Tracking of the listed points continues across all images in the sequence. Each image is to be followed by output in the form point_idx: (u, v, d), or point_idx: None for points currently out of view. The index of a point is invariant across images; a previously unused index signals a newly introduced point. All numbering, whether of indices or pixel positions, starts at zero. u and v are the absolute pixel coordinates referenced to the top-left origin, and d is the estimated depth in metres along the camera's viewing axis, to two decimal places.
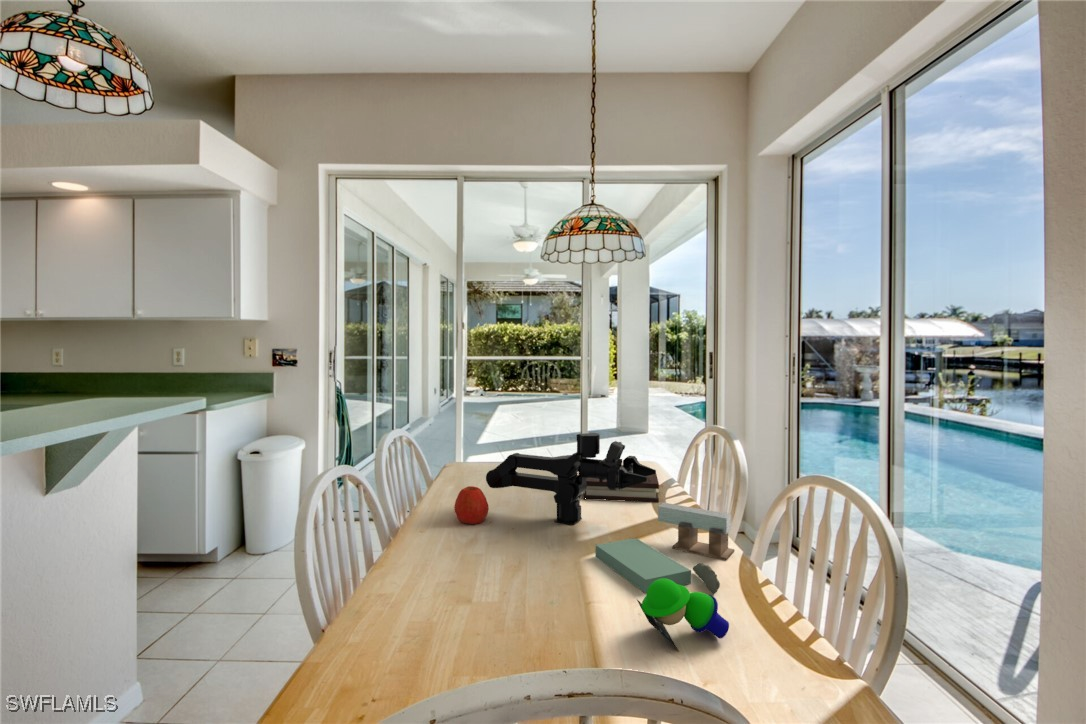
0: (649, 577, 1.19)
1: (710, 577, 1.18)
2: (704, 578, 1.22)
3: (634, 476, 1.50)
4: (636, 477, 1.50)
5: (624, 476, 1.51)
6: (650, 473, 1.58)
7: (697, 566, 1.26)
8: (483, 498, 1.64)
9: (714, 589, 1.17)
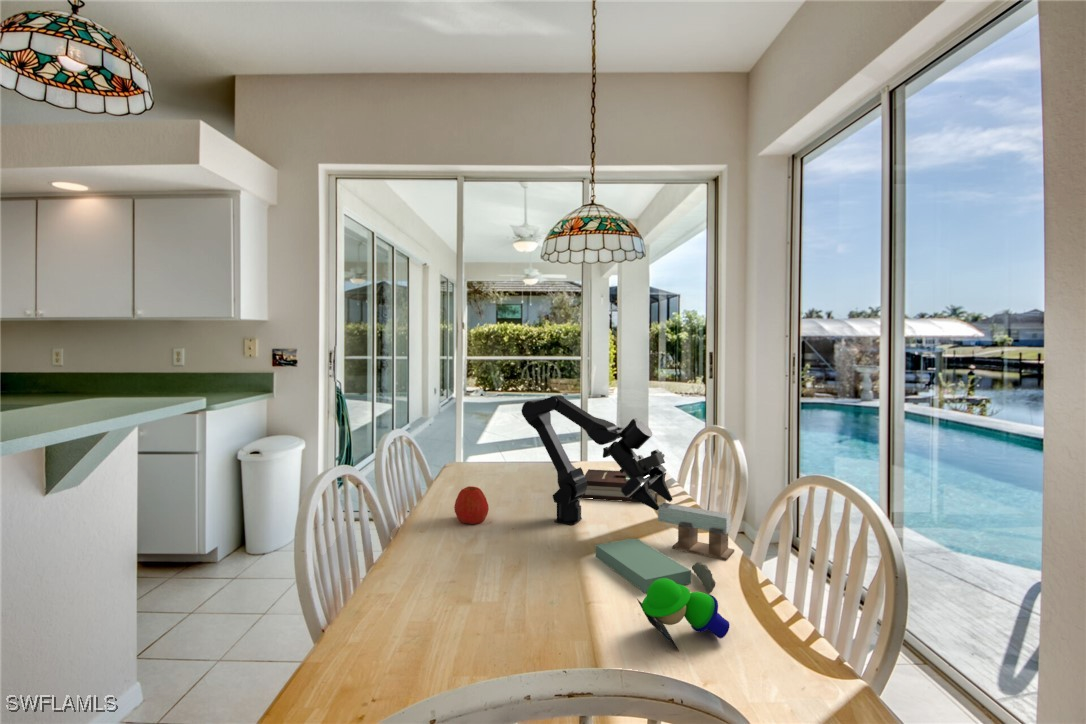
0: (649, 577, 1.19)
1: (706, 576, 1.19)
2: (701, 577, 1.23)
3: (650, 499, 1.44)
4: (651, 501, 1.44)
5: (642, 491, 1.45)
6: (666, 497, 1.52)
7: (695, 565, 1.27)
8: (483, 498, 1.64)
9: (709, 588, 1.17)
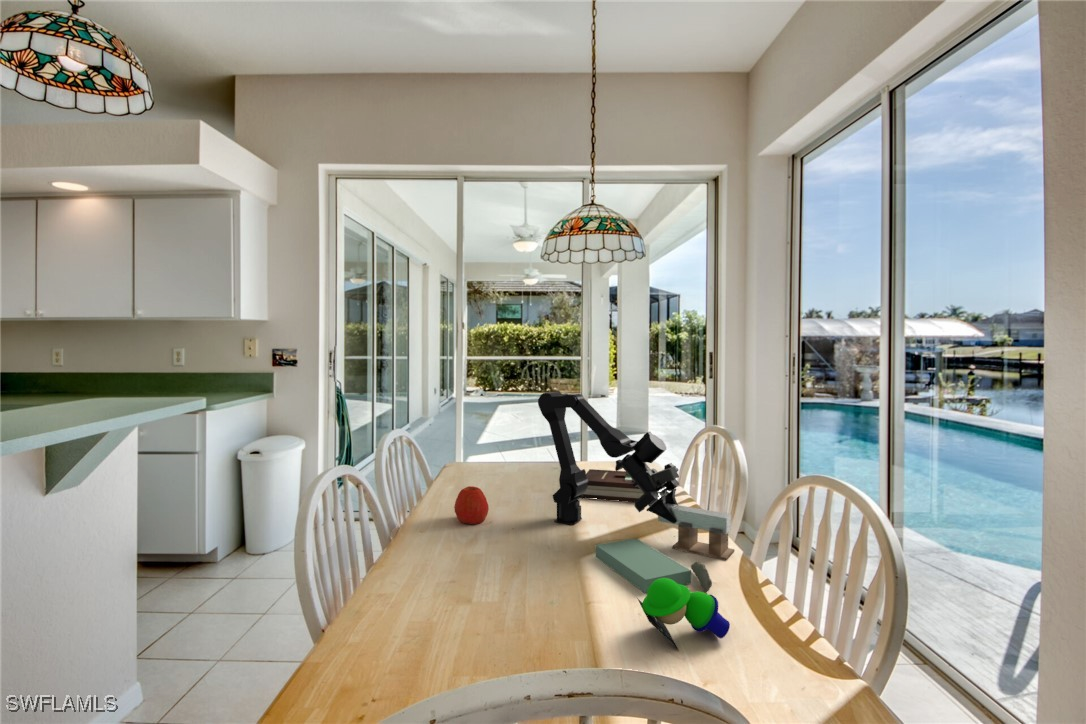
0: (649, 577, 1.19)
1: (703, 575, 1.19)
2: (699, 576, 1.23)
3: (668, 512, 1.44)
4: (668, 514, 1.44)
5: (659, 504, 1.45)
6: None
7: (694, 565, 1.27)
8: (483, 498, 1.64)
9: (706, 587, 1.17)
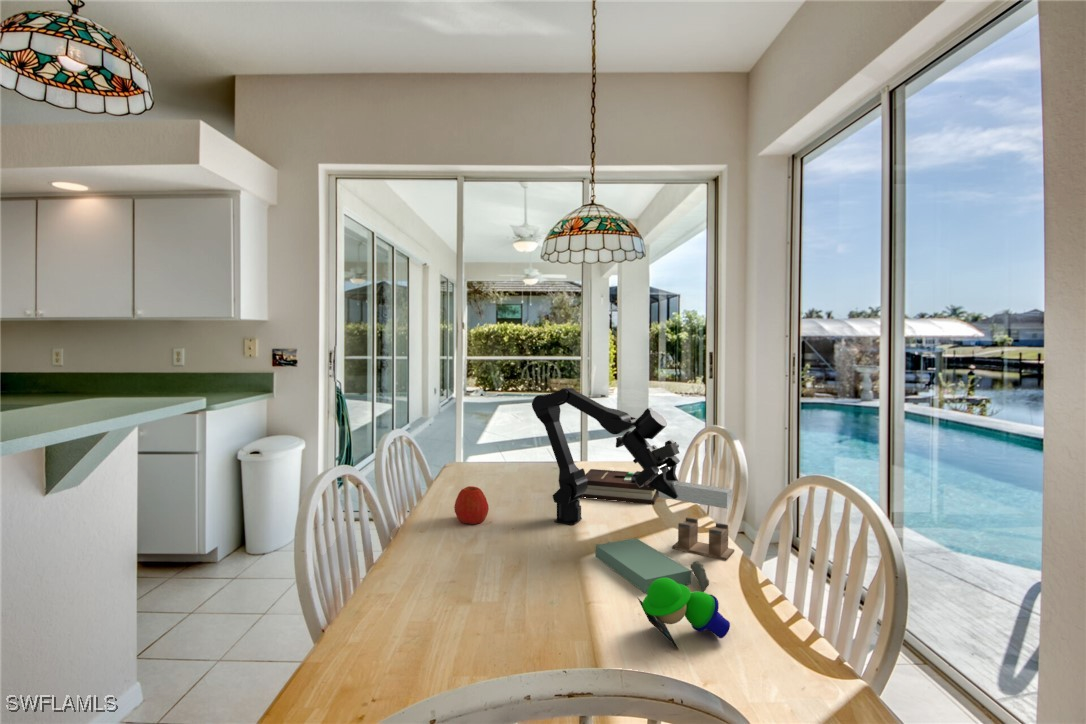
0: (649, 577, 1.19)
1: (700, 575, 1.19)
2: (697, 576, 1.23)
3: (668, 487, 1.44)
4: (669, 489, 1.44)
5: (660, 479, 1.45)
6: None
7: (693, 564, 1.27)
8: (483, 498, 1.64)
9: (703, 587, 1.18)
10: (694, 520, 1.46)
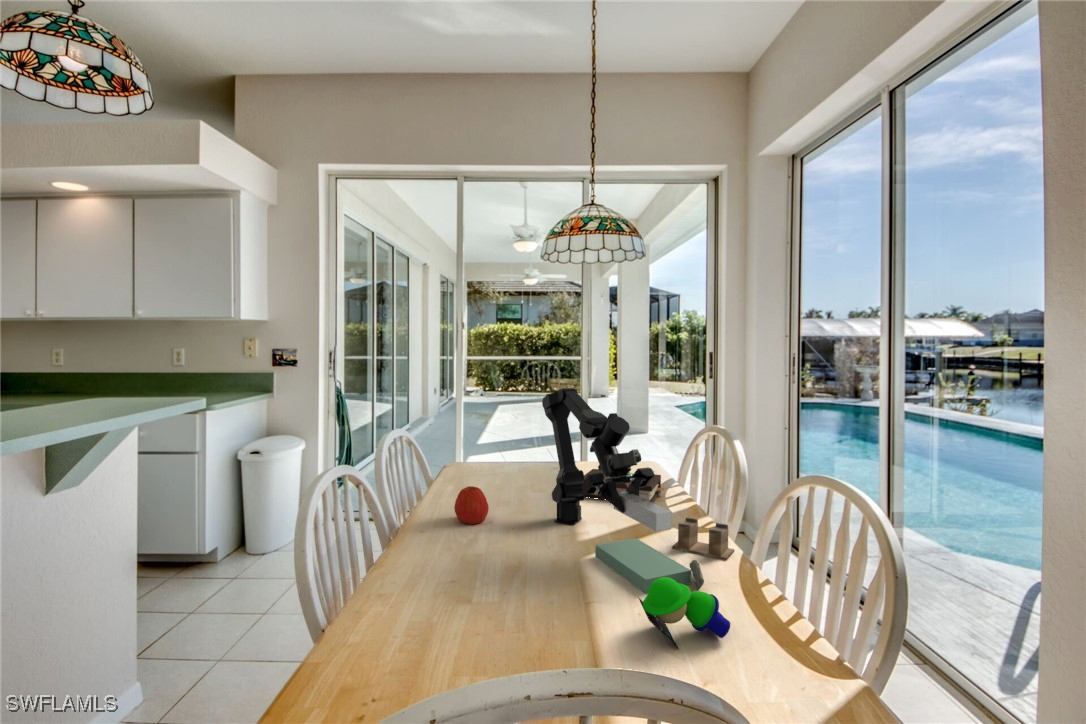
0: (649, 577, 1.19)
1: (696, 573, 1.20)
2: (694, 575, 1.24)
3: (616, 499, 1.34)
4: (617, 502, 1.34)
5: None
6: None
7: (692, 563, 1.28)
8: (483, 498, 1.64)
9: (697, 585, 1.18)
10: (694, 520, 1.46)
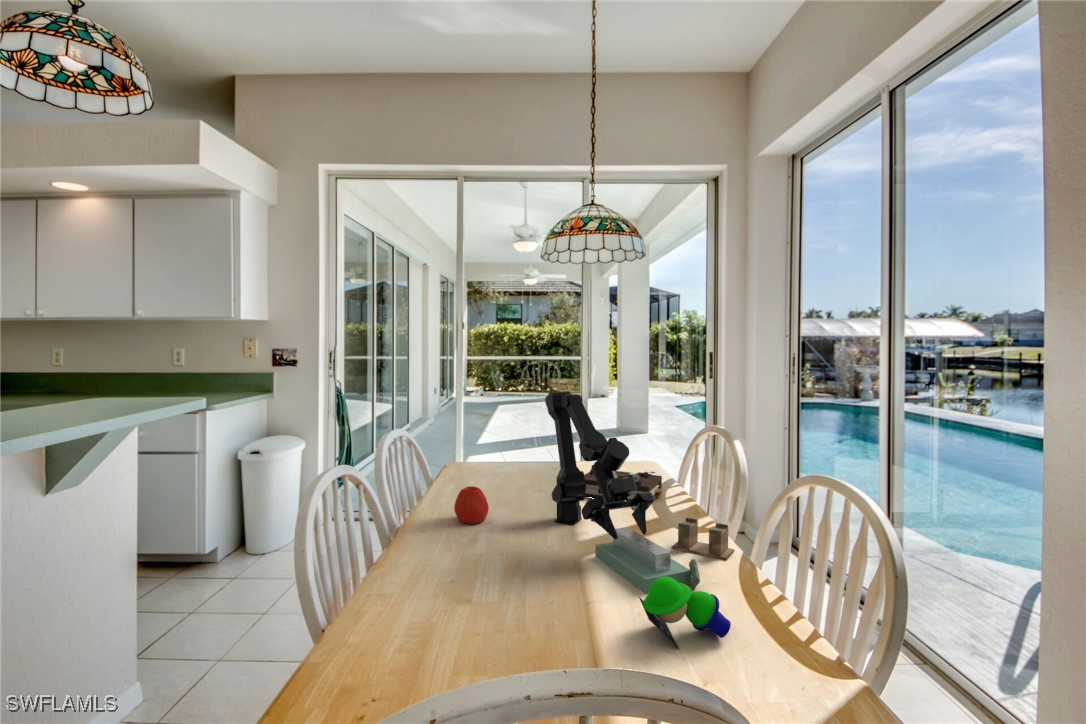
0: (649, 577, 1.19)
1: (692, 572, 1.21)
2: None
3: (609, 526, 1.33)
4: (610, 528, 1.33)
5: None
6: (641, 529, 1.37)
7: (691, 562, 1.29)
8: (483, 498, 1.64)
9: (693, 584, 1.19)
10: (694, 520, 1.46)
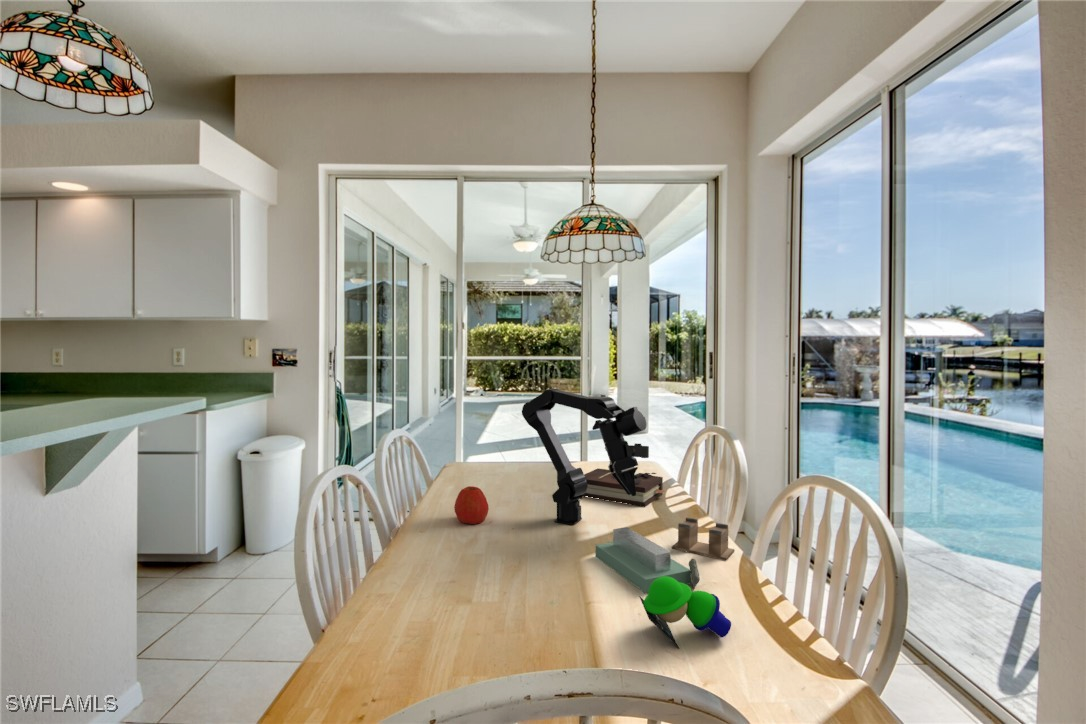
0: (649, 577, 1.19)
1: (692, 571, 1.21)
2: None
3: (633, 483, 1.47)
4: (632, 485, 1.47)
5: (628, 473, 1.47)
6: (626, 490, 1.56)
7: (690, 561, 1.29)
8: (483, 498, 1.64)
9: (693, 583, 1.19)
10: (694, 520, 1.46)
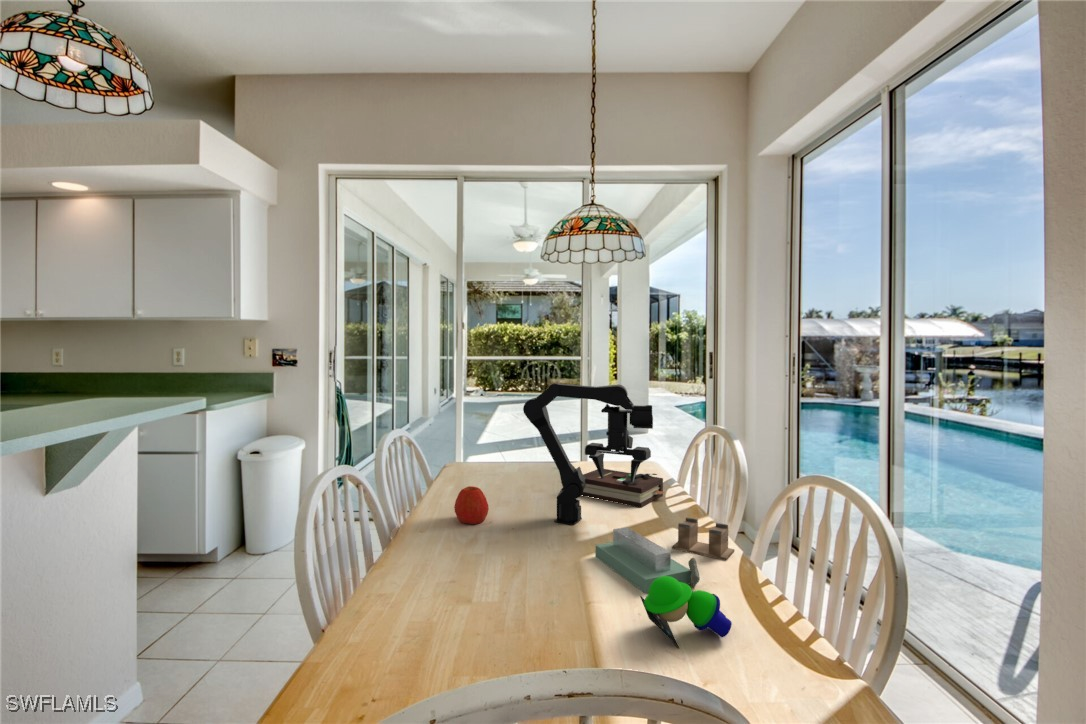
0: (649, 577, 1.19)
1: (692, 571, 1.21)
2: (691, 572, 1.25)
3: (636, 471, 1.61)
4: (635, 473, 1.60)
5: None
6: (602, 474, 1.64)
7: (690, 561, 1.29)
8: (483, 498, 1.64)
9: (693, 582, 1.20)
10: (694, 520, 1.46)
